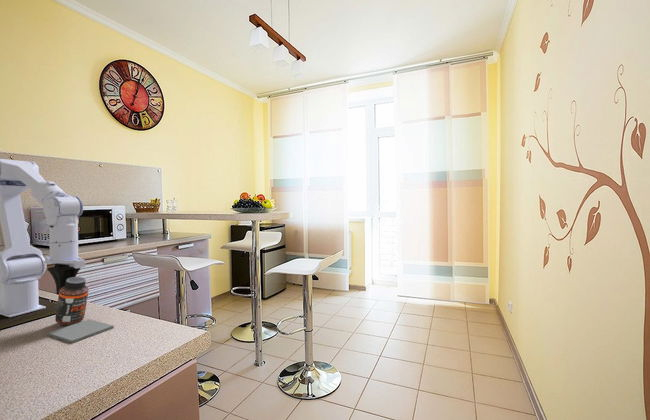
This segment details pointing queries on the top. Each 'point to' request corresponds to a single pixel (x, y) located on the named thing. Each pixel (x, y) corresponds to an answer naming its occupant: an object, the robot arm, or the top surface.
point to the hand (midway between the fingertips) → (65, 292)
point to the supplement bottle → (72, 301)
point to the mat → (80, 330)
